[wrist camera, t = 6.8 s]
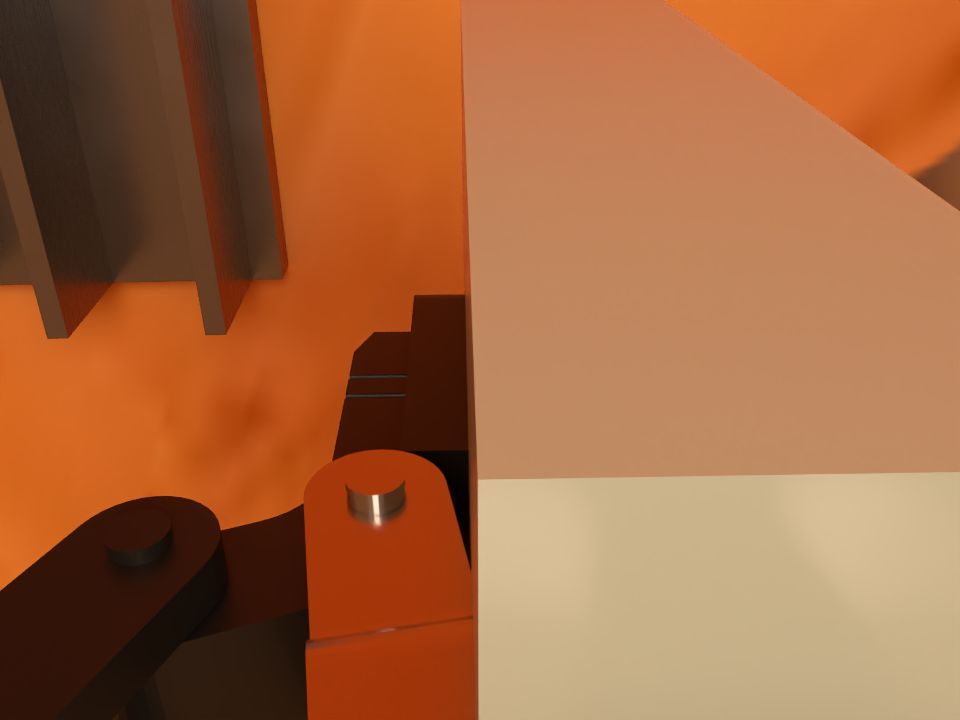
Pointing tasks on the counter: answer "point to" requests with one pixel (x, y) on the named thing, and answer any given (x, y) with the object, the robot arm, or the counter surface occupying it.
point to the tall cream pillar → (699, 385)
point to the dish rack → (135, 153)
